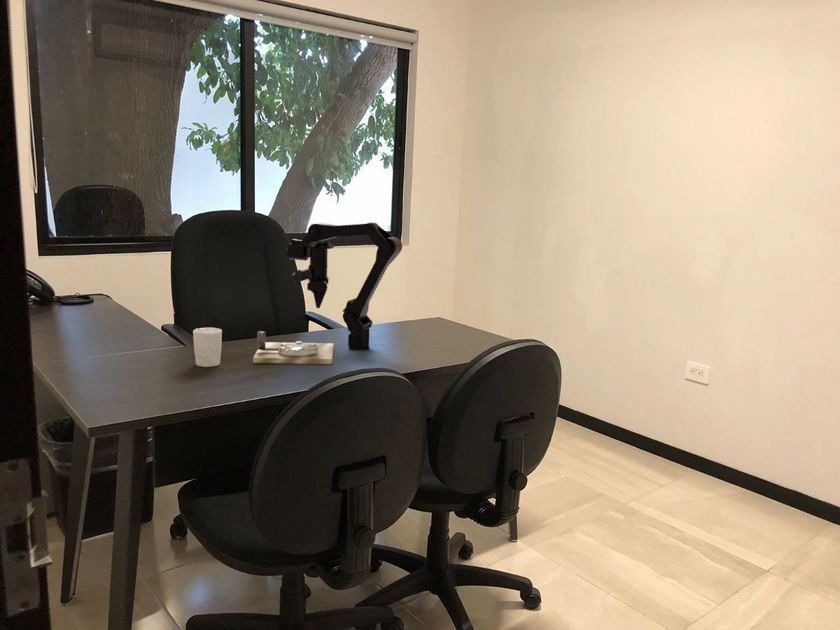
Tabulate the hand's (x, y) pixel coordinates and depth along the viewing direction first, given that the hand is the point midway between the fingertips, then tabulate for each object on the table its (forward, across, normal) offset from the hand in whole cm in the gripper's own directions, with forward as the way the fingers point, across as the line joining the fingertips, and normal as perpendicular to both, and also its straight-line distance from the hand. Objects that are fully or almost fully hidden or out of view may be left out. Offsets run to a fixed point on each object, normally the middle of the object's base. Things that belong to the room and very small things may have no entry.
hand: (318, 307), depth 216 cm
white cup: (+12, +29, -30) cm, 43 cm away
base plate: (+12, +17, -6) cm, 22 cm away
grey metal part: (+10, +20, -8) cm, 24 cm away
